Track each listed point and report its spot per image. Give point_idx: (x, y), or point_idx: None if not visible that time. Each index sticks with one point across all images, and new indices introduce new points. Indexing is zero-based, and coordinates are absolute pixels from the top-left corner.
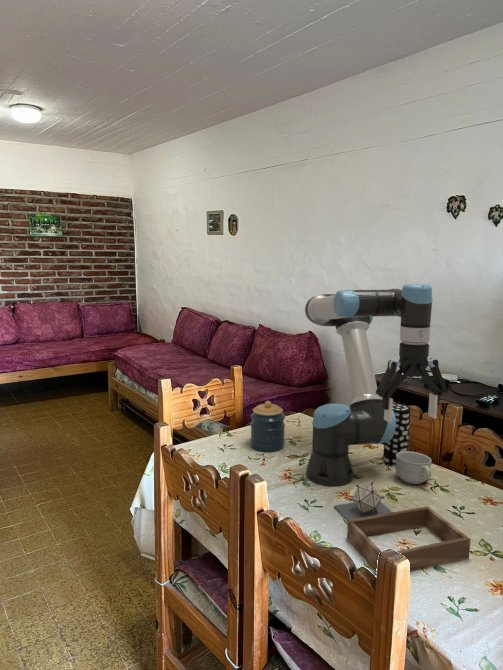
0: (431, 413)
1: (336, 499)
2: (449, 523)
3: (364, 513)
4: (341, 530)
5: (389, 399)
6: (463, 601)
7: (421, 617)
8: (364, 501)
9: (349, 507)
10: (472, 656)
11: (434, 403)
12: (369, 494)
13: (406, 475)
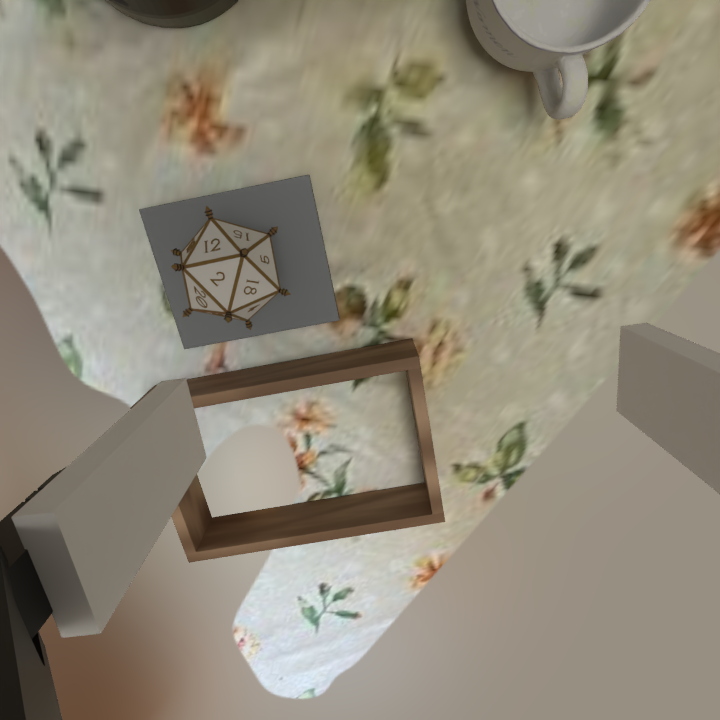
0: (639, 385)
1: (160, 148)
2: (432, 453)
3: None
4: (146, 345)
5: (63, 616)
6: (344, 597)
7: (247, 621)
8: (207, 312)
9: (191, 228)
10: (294, 687)
11: (717, 481)
12: (219, 313)
13: (485, 45)
